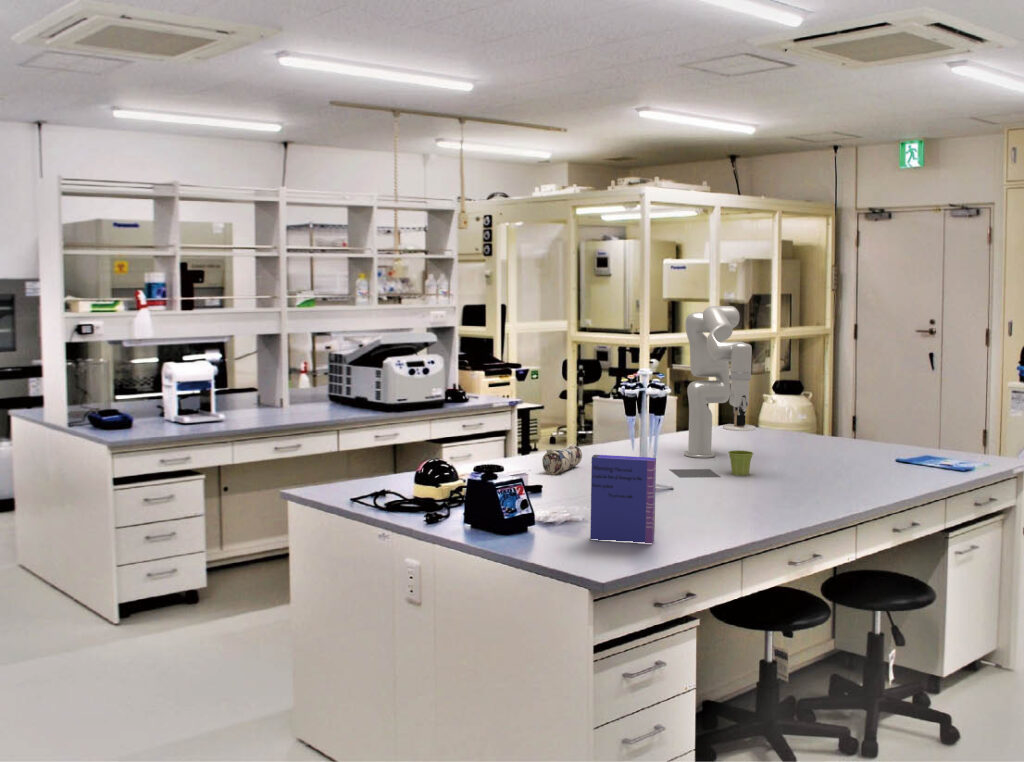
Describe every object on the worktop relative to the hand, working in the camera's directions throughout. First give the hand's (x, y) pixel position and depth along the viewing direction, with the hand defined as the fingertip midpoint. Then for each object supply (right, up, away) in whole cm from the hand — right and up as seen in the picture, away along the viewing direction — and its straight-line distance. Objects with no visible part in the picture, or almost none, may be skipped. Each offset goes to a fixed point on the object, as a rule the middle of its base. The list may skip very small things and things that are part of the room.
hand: (739, 424), depth 386 cm
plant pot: (+1, -19, +2) cm, 20 cm away
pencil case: (-66, -18, +9) cm, 69 cm away
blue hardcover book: (-54, -29, -97) cm, 115 cm away
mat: (-16, -19, +2) cm, 25 cm away
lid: (0, -2, 0) cm, 2 cm away
